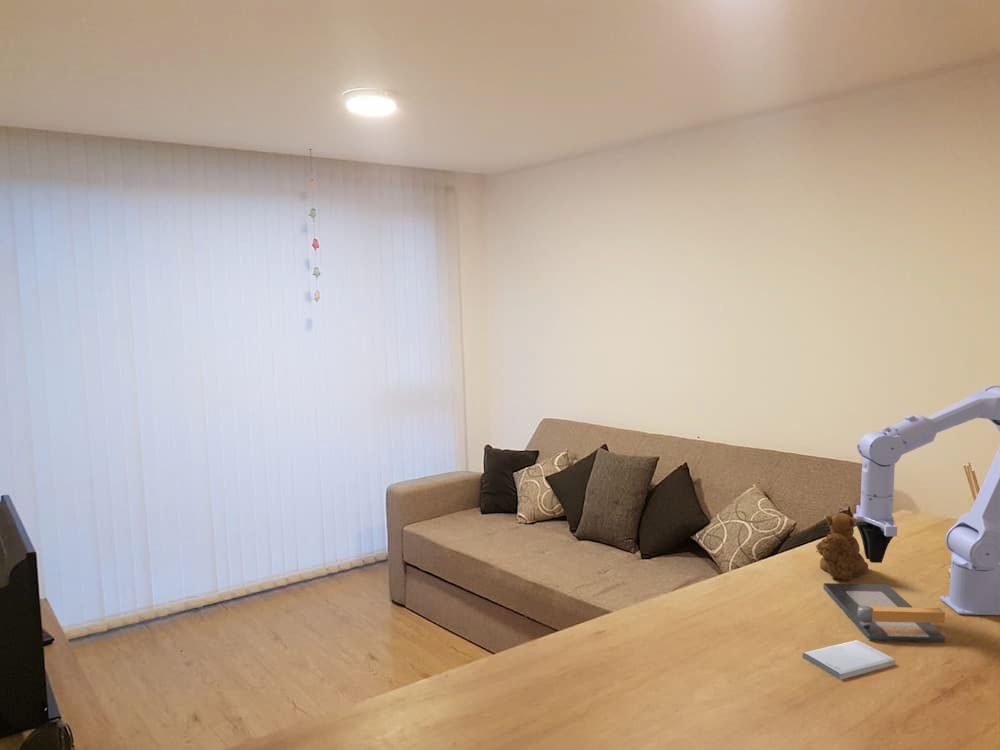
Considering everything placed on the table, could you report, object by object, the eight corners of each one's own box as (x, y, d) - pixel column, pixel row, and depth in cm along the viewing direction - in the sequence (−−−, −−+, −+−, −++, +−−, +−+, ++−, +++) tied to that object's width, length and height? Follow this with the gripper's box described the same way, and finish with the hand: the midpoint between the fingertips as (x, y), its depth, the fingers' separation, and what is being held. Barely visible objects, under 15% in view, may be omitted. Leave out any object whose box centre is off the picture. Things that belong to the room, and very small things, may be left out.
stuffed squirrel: (869, 568, 172) (871, 511, 170) (861, 588, 160) (863, 528, 159) (822, 560, 177) (824, 505, 176) (810, 579, 165) (813, 521, 164)
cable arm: (860, 621, 138) (861, 611, 138) (855, 615, 141) (855, 605, 141) (945, 624, 137) (945, 613, 137) (938, 617, 140) (938, 607, 139)
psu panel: (887, 590, 159) (887, 579, 159) (946, 643, 135) (946, 631, 135) (821, 588, 160) (822, 578, 160) (868, 641, 136) (869, 629, 136)
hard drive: (840, 673, 123) (895, 658, 127) (802, 651, 130) (855, 638, 135) (840, 683, 123) (895, 667, 128) (801, 660, 130) (855, 646, 135)
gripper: (842, 483, 156) (839, 547, 158) (870, 503, 142) (867, 573, 143) (877, 484, 156) (874, 548, 157) (910, 504, 141) (906, 574, 143)
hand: (873, 560), depth 150 cm, fingers closed
